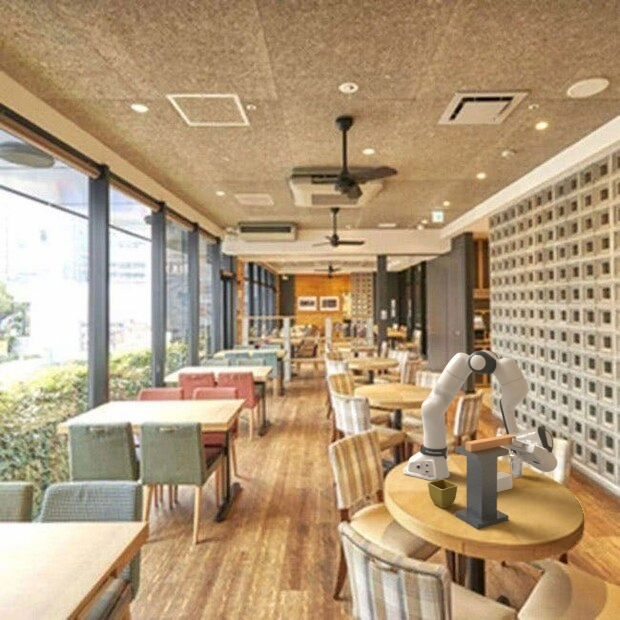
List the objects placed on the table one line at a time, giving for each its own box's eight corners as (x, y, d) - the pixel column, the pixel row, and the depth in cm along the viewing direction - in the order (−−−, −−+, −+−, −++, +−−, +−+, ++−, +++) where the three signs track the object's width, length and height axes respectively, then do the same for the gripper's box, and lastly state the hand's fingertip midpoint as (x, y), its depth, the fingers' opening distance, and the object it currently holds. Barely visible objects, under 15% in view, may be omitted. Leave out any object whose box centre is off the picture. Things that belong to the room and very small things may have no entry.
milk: (502, 483, 220) (466, 492, 211) (502, 470, 220) (466, 479, 210) (512, 488, 215) (476, 497, 205) (512, 475, 215) (476, 484, 205)
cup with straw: (507, 471, 236) (507, 431, 235) (526, 474, 232) (527, 433, 232) (507, 477, 228) (507, 436, 227) (527, 480, 224) (527, 438, 224)
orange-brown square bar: (471, 451, 181) (471, 444, 181) (465, 449, 183) (465, 441, 183) (515, 443, 191) (515, 435, 191) (509, 441, 194) (509, 434, 194)
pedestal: (477, 529, 177) (477, 455, 176) (455, 516, 188) (455, 446, 187) (508, 520, 184) (508, 449, 183) (485, 508, 195) (485, 441, 194)
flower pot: (441, 511, 192) (441, 489, 192) (427, 503, 200) (427, 482, 200) (457, 507, 196) (457, 485, 196) (442, 499, 204) (443, 478, 204)
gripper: (510, 437, 206) (490, 425, 201) (551, 451, 188) (530, 437, 182) (505, 451, 205) (484, 438, 200) (546, 466, 187) (525, 453, 181)
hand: (507, 438), depth 191 cm, fingers open, 3 cm apart
